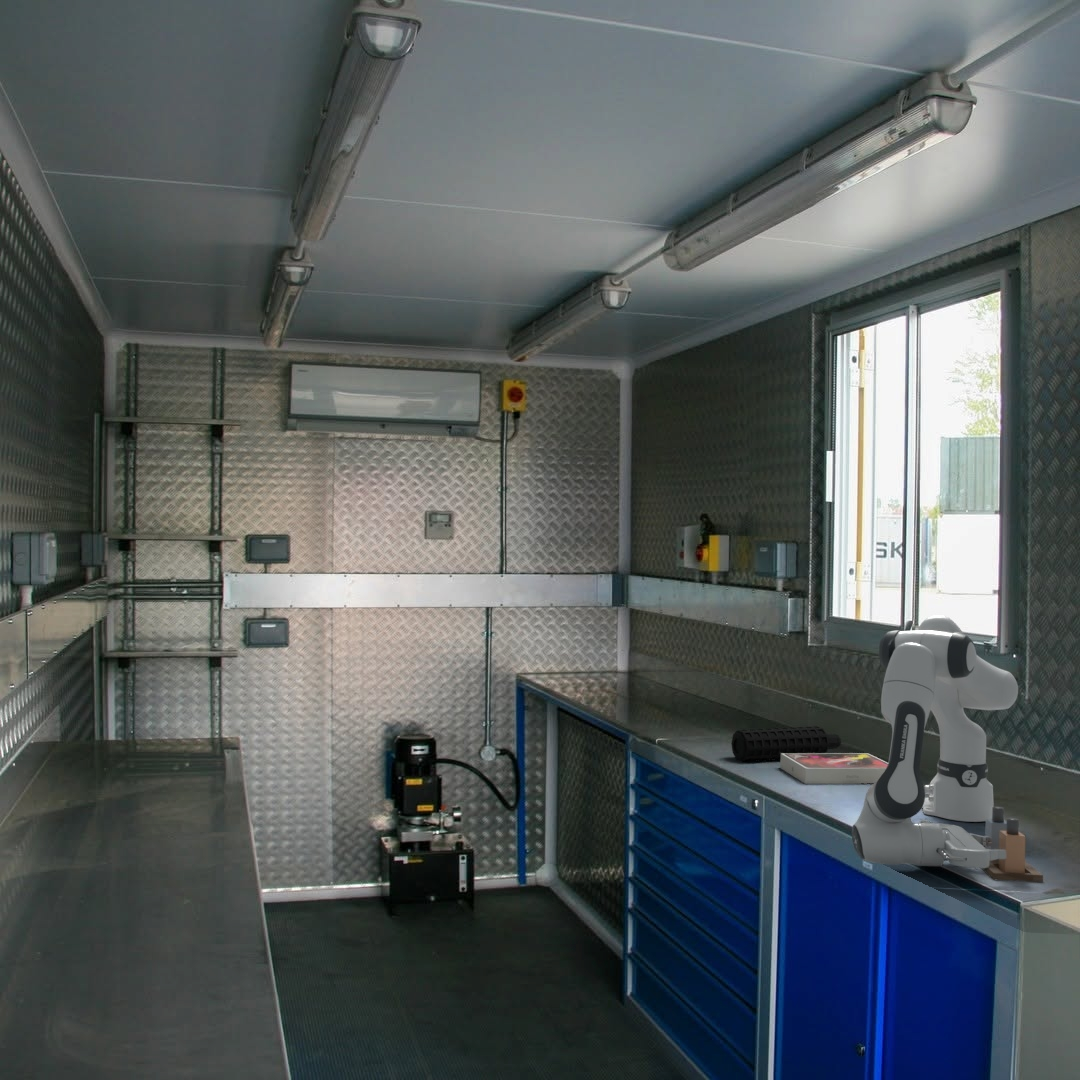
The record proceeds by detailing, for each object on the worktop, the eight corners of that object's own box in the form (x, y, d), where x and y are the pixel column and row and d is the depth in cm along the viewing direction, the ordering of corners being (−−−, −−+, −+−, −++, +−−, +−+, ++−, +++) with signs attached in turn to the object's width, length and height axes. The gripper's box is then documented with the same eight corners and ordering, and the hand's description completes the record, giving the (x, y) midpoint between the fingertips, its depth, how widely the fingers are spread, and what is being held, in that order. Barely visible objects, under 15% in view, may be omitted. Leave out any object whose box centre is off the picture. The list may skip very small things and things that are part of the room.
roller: (827, 747, 365) (833, 720, 362) (843, 761, 356) (850, 734, 353) (727, 752, 352) (732, 724, 349) (741, 767, 343) (747, 739, 340)
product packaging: (780, 769, 337) (780, 753, 337) (867, 769, 341) (867, 753, 341) (805, 785, 316) (805, 768, 316) (898, 785, 319) (898, 768, 319)
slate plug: (984, 858, 243) (985, 805, 243) (1003, 859, 243) (1004, 805, 243) (990, 864, 239) (992, 809, 239) (1009, 865, 239) (1010, 810, 239)
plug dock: (955, 845, 254) (956, 839, 254) (1000, 847, 254) (1000, 840, 254) (993, 880, 228) (993, 873, 228) (1042, 882, 228) (1043, 875, 228)
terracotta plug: (998, 872, 234) (999, 816, 234) (1017, 873, 234) (1019, 817, 234) (1005, 878, 230) (1006, 821, 230) (1024, 879, 230) (1025, 822, 230)
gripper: (945, 843, 223) (1015, 846, 222) (918, 817, 243) (982, 820, 242) (944, 874, 223) (1014, 877, 222) (918, 845, 244) (981, 848, 242)
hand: (997, 847), depth 232 cm, fingers open, 8 cm apart
